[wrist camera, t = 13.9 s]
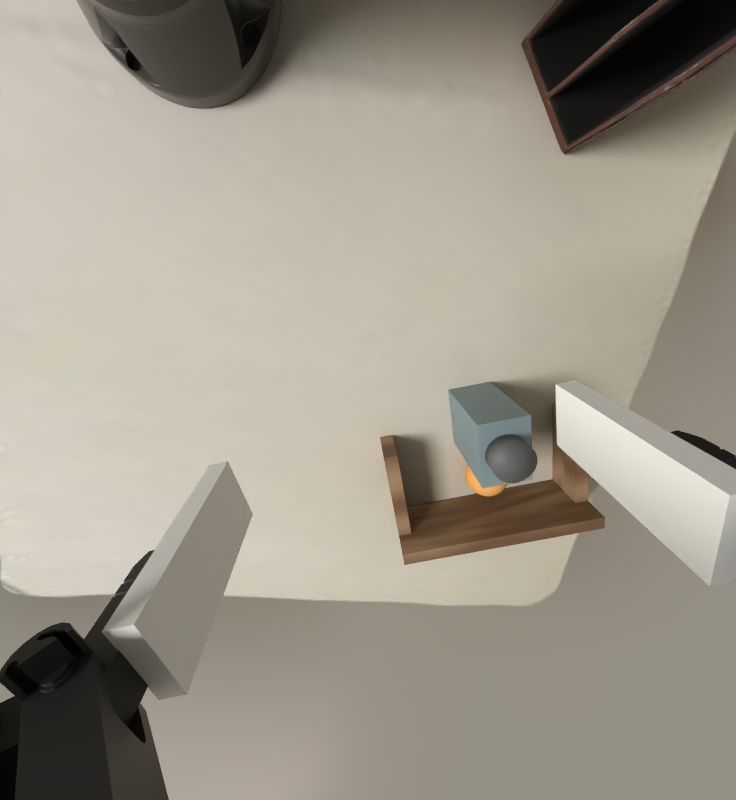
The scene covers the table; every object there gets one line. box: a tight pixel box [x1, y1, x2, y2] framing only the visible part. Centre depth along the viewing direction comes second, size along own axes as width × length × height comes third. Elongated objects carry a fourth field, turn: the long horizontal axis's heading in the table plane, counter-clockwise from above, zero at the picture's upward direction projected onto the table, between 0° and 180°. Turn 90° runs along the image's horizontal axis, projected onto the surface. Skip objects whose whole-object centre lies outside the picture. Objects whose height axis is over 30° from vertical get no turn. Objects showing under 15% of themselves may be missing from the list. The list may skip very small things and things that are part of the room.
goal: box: [380, 404, 605, 565], centre depth 41 cm, size 12×23×8 cm, turn 101°
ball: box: [465, 465, 507, 496], centre depth 43 cm, size 5×5×5 cm
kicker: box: [448, 382, 537, 488], centre depth 37 cm, size 7×5×12 cm
